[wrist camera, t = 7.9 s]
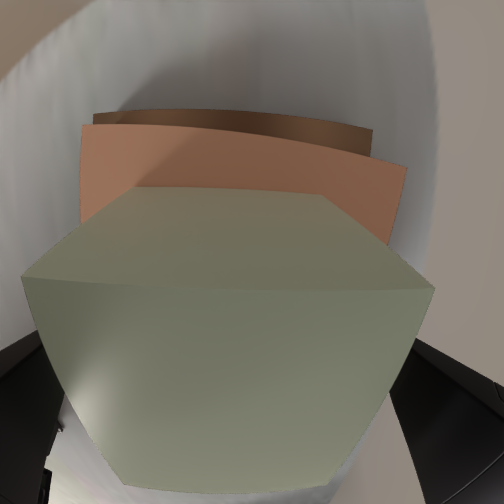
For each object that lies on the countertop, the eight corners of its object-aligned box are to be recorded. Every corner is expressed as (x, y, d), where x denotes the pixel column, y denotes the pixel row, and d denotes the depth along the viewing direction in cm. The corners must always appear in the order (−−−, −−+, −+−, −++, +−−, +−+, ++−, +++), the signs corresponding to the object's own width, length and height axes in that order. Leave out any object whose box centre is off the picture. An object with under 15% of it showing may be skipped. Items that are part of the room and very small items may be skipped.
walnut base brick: (128, 315, 17) (116, 345, 15) (116, 115, 13) (93, 114, 10) (314, 321, 19) (327, 351, 16) (347, 128, 14) (372, 129, 11)
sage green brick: (150, 356, 11) (123, 484, 6) (132, 186, 9) (20, 276, 3) (292, 359, 12) (326, 484, 7) (321, 194, 9) (435, 288, 4)
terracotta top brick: (120, 339, 15) (104, 377, 12) (114, 124, 10) (82, 124, 8) (315, 355, 16) (329, 393, 13) (370, 157, 12) (407, 167, 9)
